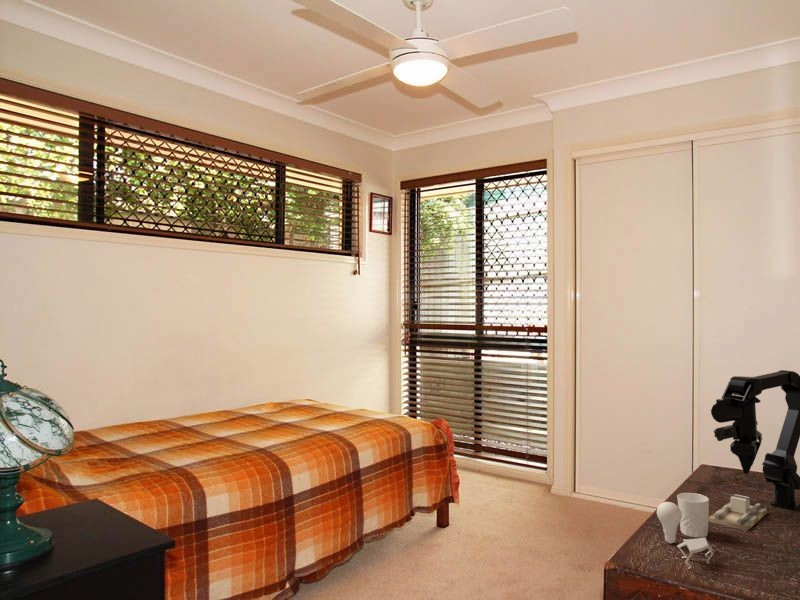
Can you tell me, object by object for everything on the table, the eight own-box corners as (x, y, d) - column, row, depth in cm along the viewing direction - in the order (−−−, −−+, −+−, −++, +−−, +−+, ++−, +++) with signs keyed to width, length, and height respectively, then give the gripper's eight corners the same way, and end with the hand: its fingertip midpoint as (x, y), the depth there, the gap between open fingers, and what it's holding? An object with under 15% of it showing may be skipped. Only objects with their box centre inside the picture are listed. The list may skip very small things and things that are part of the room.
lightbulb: (685, 548, 149) (684, 506, 150) (661, 547, 151) (659, 506, 151) (679, 539, 155) (677, 498, 155) (655, 538, 157) (653, 498, 157)
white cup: (709, 529, 161) (707, 494, 161) (711, 540, 154) (709, 503, 154) (678, 526, 164) (676, 491, 164) (679, 536, 157) (677, 500, 157)
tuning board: (730, 505, 178) (730, 497, 178) (767, 513, 171) (766, 505, 171) (709, 521, 166) (708, 513, 166) (747, 530, 159) (746, 522, 159)
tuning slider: (726, 505, 175) (725, 491, 175) (760, 512, 168) (759, 498, 168) (721, 508, 172) (720, 494, 172) (755, 516, 165) (755, 501, 165)
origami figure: (678, 550, 148) (677, 532, 148) (715, 557, 144) (714, 538, 144) (673, 570, 138) (672, 550, 138) (712, 577, 134) (711, 557, 134)
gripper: (720, 410, 185) (723, 458, 185) (709, 422, 170) (712, 474, 170) (760, 413, 178) (763, 462, 178) (753, 425, 163) (756, 480, 163)
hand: (748, 469), depth 172 cm, fingers open, 9 cm apart
